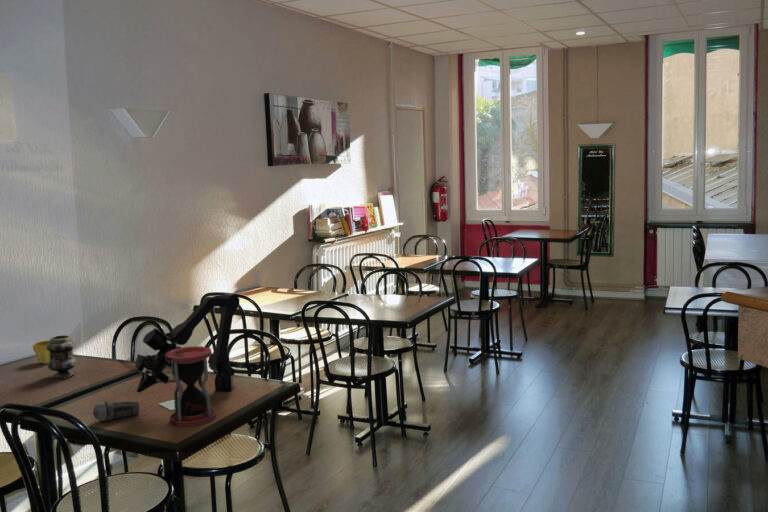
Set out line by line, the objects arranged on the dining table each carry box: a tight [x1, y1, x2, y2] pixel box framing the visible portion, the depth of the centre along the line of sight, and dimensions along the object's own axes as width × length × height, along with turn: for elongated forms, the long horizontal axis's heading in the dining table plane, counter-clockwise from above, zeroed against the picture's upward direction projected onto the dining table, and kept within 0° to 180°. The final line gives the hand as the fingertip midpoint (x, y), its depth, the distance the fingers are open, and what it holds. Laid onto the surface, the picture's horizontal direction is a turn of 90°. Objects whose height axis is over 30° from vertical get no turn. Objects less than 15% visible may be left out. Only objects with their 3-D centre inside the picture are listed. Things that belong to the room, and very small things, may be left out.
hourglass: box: [165, 346, 217, 427], centre depth 258 cm, size 16×16×25 cm
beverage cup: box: [79, 401, 140, 422], centre depth 261 cm, size 7×7×20 cm
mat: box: [158, 399, 175, 411], centre depth 277 cm, size 11×11×1 cm
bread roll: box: [163, 368, 181, 382], centre depth 312 cm, size 11×11×5 cm
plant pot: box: [32, 339, 50, 364], centre depth 346 cm, size 10×10×10 cm
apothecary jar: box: [46, 334, 78, 379], centre depth 321 cm, size 12×12×18 cm
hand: (137, 392), depth 268 cm, fingers closed
